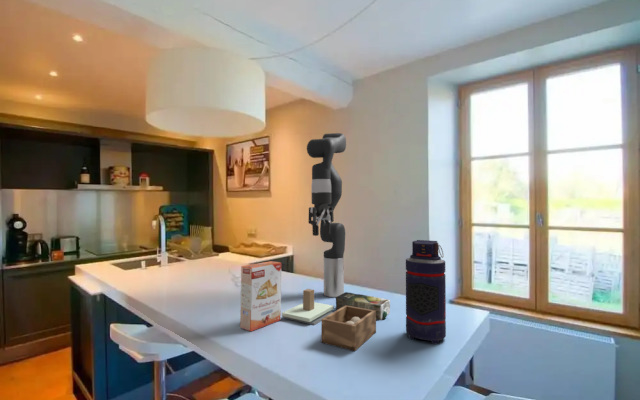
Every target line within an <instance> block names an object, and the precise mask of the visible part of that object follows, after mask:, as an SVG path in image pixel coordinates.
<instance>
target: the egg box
mask: <svg viewBox="0 0 640 400" xmlns="http://www.w3.org/2000/svg"><path fill="white" fill-rule="evenodd" d="M332 312H333V313H331V314H330V315H328V316H326V317H324V318H323V319H322V321H321V337H320V338H321V339H320V340H321V341H320V342H321V343H322V344H325V345H329V346H333V347H337V348H341V349H345V350H349V351H352V352H356V351H357V350H358V349H359V348H361V347H362V345H364V344H365V343H366V342H367V341H368V340H370V339H371V338H372V337H373V336H374V335H375V334H376V333H377V319H376V311H375V310H369V309H364V308H358V307H352V306H347V305H345V306H344V307H342V308H340V309H338V310H335V311H332Z"/></svg>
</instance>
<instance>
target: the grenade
mask: <svg viewBox="0 0 640 400" xmlns="http://www.w3.org/2000/svg"><path fill="white" fill-rule="evenodd" d="M411 243H412V244H411V245H412V246H411V247H412V249H411V250H412V254H410V256H409V257H408V258H406V259H405V331H406V333H407V335H408V338H409V339H410V340H414V338H415V339H419V340H424V341H431V344H434V345H436V344H440V341H441V340H443V339H445V338H446V336H447V328H446V327H447V324H446V322H447V321H446V317H447V315H446V314H447V313H446V312H447V311H446V310H447V309H446V300H447V299H446V298H447V297H446V295H447V294H446V261H445V260H444V259H442V258H444V255H445V254H444V251H443V249H442V248H443V247H442V246H441V245H440V244H439V242H438V240H427V239H426V240H423V239H422V240H421V239H416V240H413V241H412V242H411ZM439 255H440V256H439Z"/></svg>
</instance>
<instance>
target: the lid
mask: <svg viewBox="0 0 640 400" xmlns="http://www.w3.org/2000/svg"><path fill="white" fill-rule="evenodd" d="M302 292H303V293H302V294H303V295H302V303H300V304H298V305H296V306H293V307H291V308H289V309H286V310H285V311H282V312H281V317H282V316H284V317H289V318H293V319H298V320H302V321H307V322H311V321H313V320H315V319H316V318H318V317H320V316H322V315H324V314H325V313H327V312H329V311H331V312H332V310H334V308H335V307H334V305H331V304H326V303H322V302H316V301H315V289H311V288H306V289H304V290H302Z"/></svg>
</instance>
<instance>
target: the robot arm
mask: <svg viewBox="0 0 640 400" xmlns="http://www.w3.org/2000/svg"><path fill="white" fill-rule="evenodd" d="M346 148H347V138H346V136H345V134H343V133H341V132H340V133H339V132H338V133H337V132H335V133H324V134H323V135H322V137H321V138H318V139H317V138H315V139H310V140H309V141H308V142H307V144H306V152H307V154H308V156H309V157H310V158H313V159H318V158H319V159H322V162H318V163H315V164H313V165H312V167H311V191H310V192H311V204H312V205H314V206H311V207H308V224H310V225H311V226H312V230H311V231H312V236H315V237H317V236H320V239H321V240H322V242H323V243H332V247H331V248H329V249H327V250H324V251H323V295H324V297H329V298H336V297H337V296H340V295H341V294H343V293H345V286H344V285H345V284H344V283H345V280H344V279H345V274H344V256H345V255H344V254H345V247H346V229H345V226H344V224H343V223H341V222H334V211H335V209H336V206H338V203H339V202H340V200H341V198H342V194H343V193H342V192H343V186H342V185H343V181H342V178H341V176H340V175H339V173H338V171H337V170H336V168H335V166H334V164H333V158H334V155H335V154H341V153H344V152H345V151H346ZM319 224H320V227H319Z"/></svg>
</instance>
